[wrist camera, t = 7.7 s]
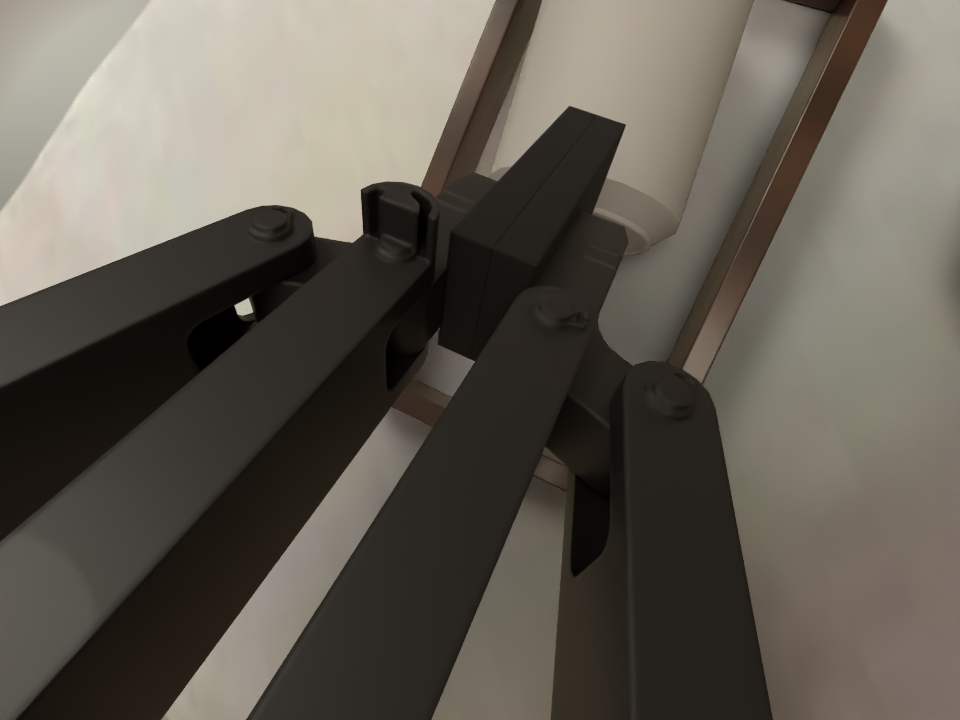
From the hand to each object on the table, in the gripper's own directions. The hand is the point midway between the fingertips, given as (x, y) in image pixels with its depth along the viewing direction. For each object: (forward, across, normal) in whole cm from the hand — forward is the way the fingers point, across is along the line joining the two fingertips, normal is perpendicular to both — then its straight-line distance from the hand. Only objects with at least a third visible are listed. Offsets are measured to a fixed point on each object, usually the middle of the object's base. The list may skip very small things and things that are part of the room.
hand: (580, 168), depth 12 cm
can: (+4, 0, -4) cm, 6 cm away
